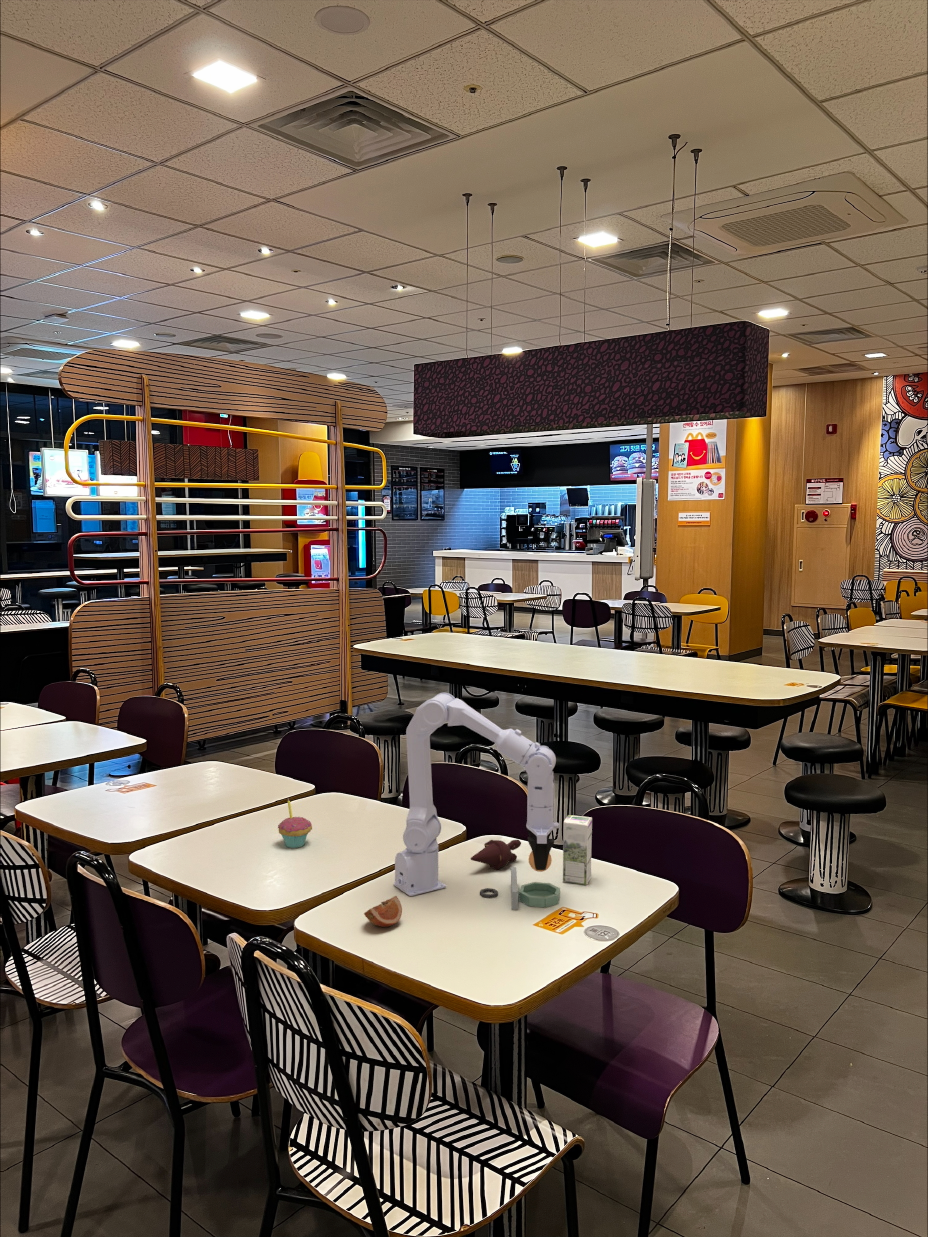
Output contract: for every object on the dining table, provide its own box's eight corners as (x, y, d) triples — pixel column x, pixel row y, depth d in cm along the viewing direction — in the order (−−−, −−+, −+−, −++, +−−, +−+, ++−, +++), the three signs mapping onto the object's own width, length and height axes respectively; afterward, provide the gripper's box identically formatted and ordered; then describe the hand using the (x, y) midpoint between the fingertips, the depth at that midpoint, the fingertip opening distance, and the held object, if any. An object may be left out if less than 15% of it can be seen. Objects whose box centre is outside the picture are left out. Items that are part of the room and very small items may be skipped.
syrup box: (591, 876, 206) (592, 816, 204) (586, 886, 200) (587, 824, 199) (567, 873, 208) (568, 813, 206) (562, 883, 202) (562, 821, 201)
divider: (517, 910, 187) (517, 891, 187) (511, 910, 187) (511, 891, 187) (516, 884, 201) (516, 867, 201) (510, 884, 201) (510, 867, 201)
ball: (537, 876, 189) (537, 854, 188) (524, 869, 193) (524, 847, 193) (556, 872, 191) (556, 850, 191) (542, 865, 196) (542, 843, 195)
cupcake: (271, 847, 224) (271, 801, 223) (290, 837, 232) (289, 792, 231) (300, 852, 221) (300, 805, 220) (318, 841, 229) (318, 796, 228)
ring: (486, 899, 193) (486, 896, 193) (476, 893, 196) (476, 890, 196) (501, 895, 195) (501, 892, 195) (491, 889, 198) (491, 887, 198)
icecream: (484, 853, 203) (531, 845, 212) (465, 837, 208) (512, 830, 218) (477, 880, 204) (524, 870, 214) (458, 863, 210) (505, 854, 219)
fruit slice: (380, 937, 175) (380, 912, 174) (356, 927, 179) (355, 904, 178) (408, 922, 181) (408, 899, 181) (384, 914, 185) (384, 891, 185)
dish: (535, 910, 187) (535, 901, 187) (512, 896, 194) (512, 887, 194) (567, 901, 192) (567, 892, 191) (543, 888, 199) (543, 879, 199)
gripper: (561, 814, 184) (560, 877, 185) (556, 794, 198) (556, 853, 199) (527, 814, 184) (527, 877, 185) (525, 794, 198) (525, 852, 200)
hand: (540, 864), depth 192 cm, fingers closed on ball, 5 cm apart
